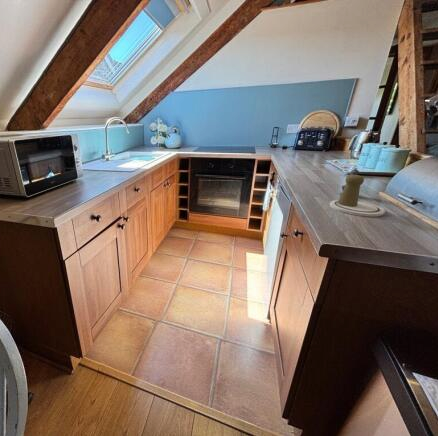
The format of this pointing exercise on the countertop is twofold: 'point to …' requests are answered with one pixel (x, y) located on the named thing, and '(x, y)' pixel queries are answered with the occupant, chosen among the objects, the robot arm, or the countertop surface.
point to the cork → (351, 191)
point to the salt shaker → (353, 172)
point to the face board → (359, 209)
